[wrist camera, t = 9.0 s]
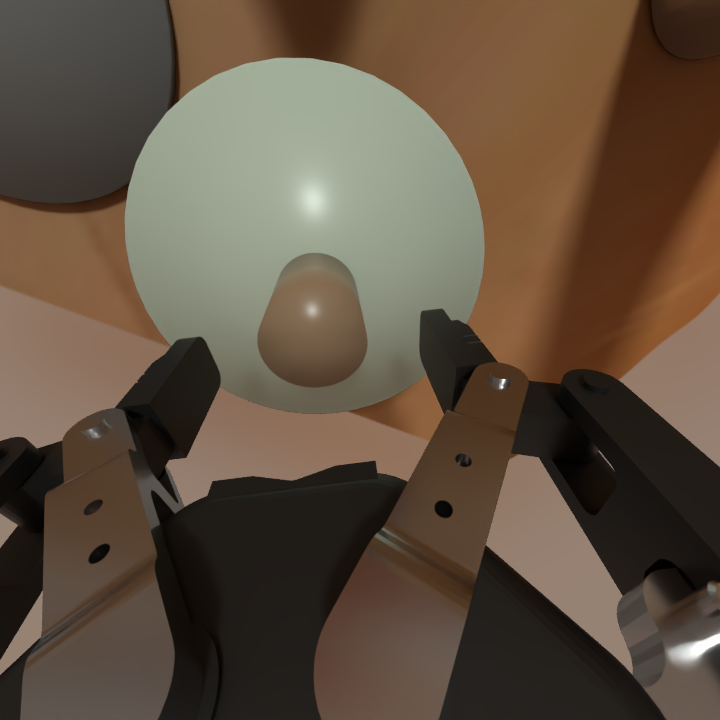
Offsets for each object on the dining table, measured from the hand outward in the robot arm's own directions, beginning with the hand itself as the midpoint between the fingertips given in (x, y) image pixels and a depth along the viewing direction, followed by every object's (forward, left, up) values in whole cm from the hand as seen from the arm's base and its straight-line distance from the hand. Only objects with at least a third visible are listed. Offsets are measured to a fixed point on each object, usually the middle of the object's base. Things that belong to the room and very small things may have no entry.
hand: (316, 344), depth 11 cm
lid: (0, 0, -6) cm, 6 cm away
